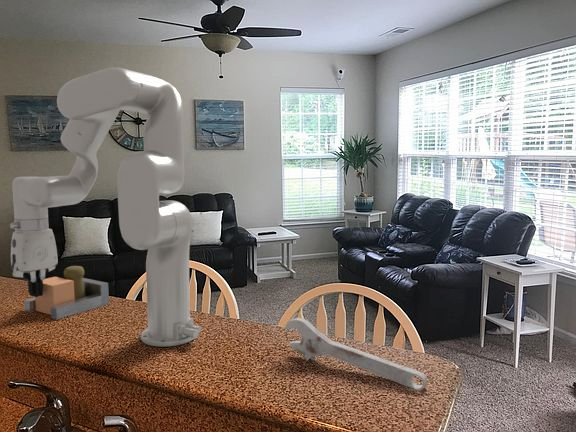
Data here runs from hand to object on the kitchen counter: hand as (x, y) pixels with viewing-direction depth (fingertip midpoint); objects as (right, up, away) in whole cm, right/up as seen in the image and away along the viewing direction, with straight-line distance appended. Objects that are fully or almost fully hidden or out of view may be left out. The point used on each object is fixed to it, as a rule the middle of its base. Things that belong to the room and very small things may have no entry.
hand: (36, 295), depth 123 cm
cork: (+6, -5, +10) cm, 13 cm away
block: (+3, -5, +5) cm, 8 cm away
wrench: (+78, -10, -29) cm, 83 cm away
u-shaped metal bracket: (+4, -5, +8) cm, 10 cm away
